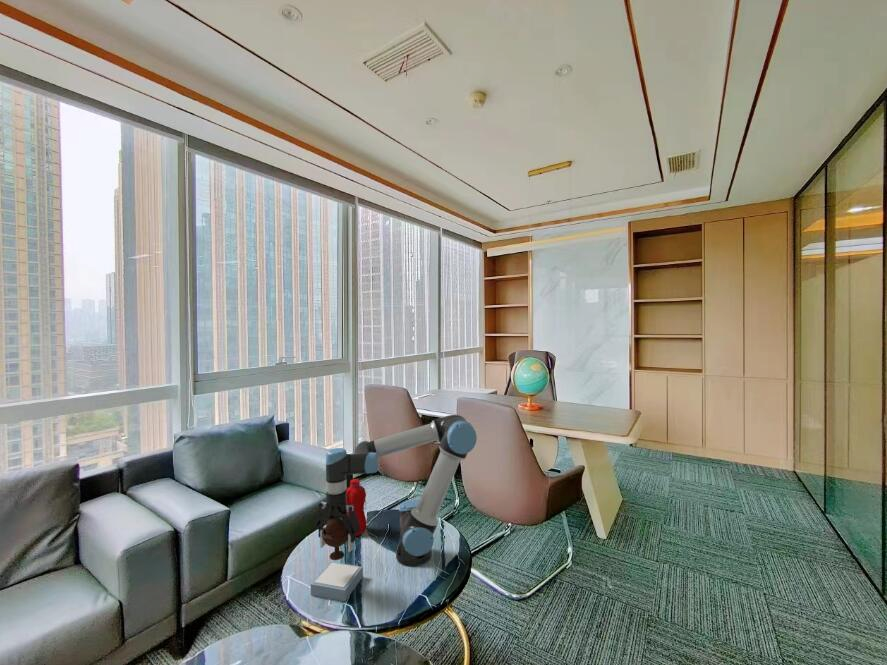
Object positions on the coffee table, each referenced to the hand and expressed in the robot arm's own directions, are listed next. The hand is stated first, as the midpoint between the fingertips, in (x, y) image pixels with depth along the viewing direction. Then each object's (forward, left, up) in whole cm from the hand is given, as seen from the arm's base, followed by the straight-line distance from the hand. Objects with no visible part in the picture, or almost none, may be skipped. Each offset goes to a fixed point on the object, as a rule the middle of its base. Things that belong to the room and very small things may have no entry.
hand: (336, 547), depth 145 cm
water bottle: (+11, -37, -15) cm, 41 cm away
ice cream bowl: (0, 0, -3) cm, 3 cm away
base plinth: (0, 0, -14) cm, 14 cm away
